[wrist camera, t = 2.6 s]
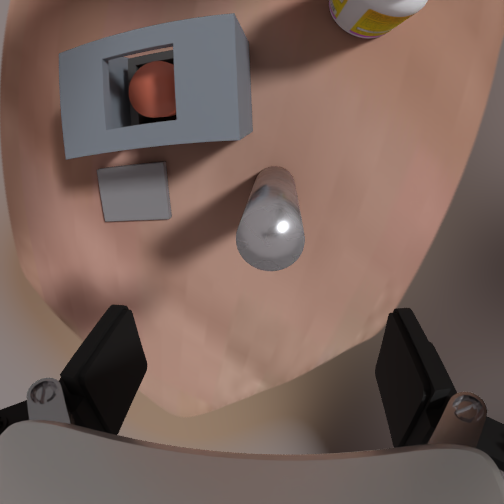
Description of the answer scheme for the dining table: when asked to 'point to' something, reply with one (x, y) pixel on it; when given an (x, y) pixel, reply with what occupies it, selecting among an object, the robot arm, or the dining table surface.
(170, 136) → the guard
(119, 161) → the dining table surface
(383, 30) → the supplement bottle
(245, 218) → the silver metal cylinder
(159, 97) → the button
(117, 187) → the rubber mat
